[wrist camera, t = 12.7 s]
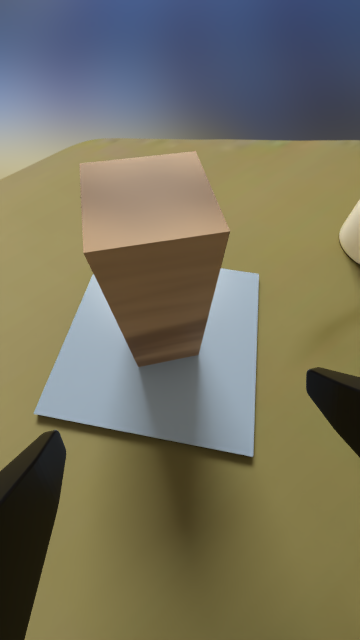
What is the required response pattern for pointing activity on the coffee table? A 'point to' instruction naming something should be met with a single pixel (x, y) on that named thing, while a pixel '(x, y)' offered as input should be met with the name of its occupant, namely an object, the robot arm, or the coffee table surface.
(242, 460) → the coffee table surface
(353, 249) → the candle holder
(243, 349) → the mat
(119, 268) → the walnut block
